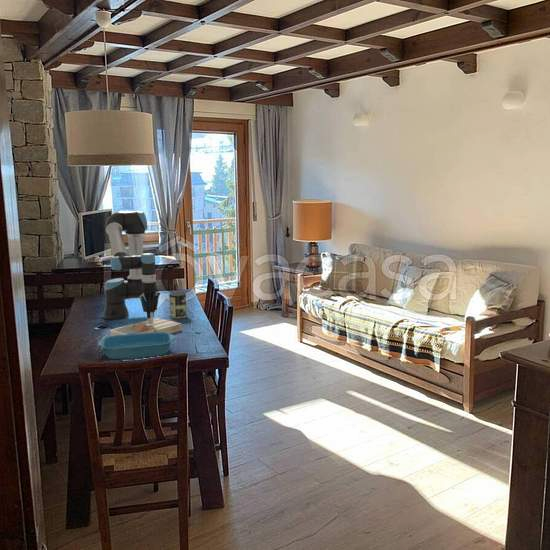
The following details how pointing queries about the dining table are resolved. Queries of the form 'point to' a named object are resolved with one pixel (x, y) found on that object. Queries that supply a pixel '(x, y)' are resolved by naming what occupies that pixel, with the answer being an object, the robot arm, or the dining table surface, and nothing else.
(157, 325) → the wavy grain square board
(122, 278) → the robot arm
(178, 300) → the coffee can
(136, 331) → the tile front
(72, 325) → the dining table surface
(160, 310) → the dining table surface
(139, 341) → the casserole dish
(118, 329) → the tray
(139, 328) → the tile rear
